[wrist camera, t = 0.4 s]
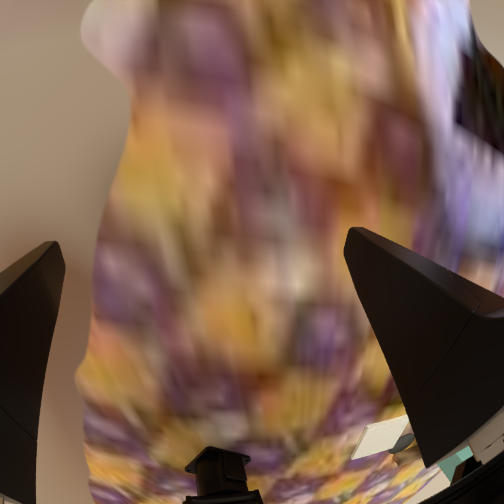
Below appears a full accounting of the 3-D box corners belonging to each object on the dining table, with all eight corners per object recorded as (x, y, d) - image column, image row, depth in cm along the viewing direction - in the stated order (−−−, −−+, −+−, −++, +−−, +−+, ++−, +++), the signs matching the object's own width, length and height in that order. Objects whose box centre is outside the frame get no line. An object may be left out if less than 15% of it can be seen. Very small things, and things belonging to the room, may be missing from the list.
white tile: (350, 457, 40) (351, 459, 39) (366, 425, 37) (368, 428, 37) (391, 445, 41) (392, 447, 41) (409, 413, 39) (411, 415, 38)
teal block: (414, 432, 42) (451, 483, 30) (424, 414, 40) (466, 467, 28) (432, 425, 43) (470, 473, 30) (442, 407, 41) (484, 456, 29)
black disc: (398, 453, 43) (399, 454, 43) (383, 451, 42) (384, 452, 41) (418, 434, 42) (419, 436, 42) (405, 432, 41) (405, 433, 40)
